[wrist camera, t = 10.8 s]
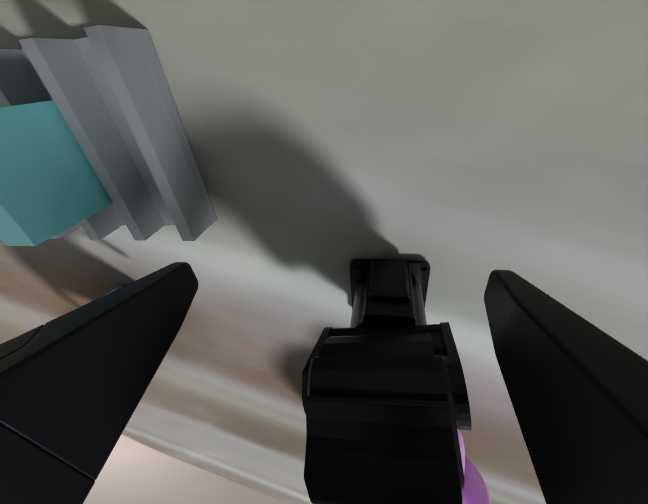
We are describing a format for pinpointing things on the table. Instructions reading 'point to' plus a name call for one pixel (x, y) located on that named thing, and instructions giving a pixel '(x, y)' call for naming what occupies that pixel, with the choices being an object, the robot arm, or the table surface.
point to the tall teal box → (43, 176)
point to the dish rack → (116, 126)
